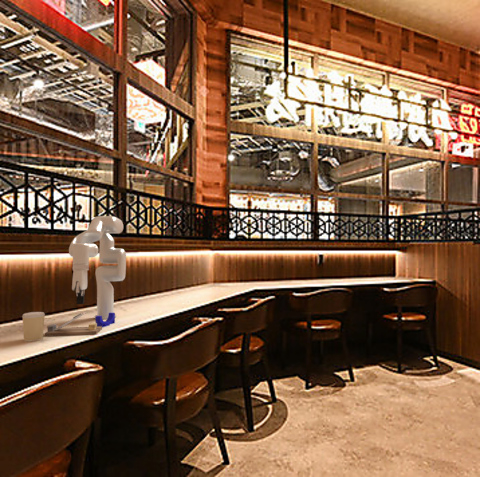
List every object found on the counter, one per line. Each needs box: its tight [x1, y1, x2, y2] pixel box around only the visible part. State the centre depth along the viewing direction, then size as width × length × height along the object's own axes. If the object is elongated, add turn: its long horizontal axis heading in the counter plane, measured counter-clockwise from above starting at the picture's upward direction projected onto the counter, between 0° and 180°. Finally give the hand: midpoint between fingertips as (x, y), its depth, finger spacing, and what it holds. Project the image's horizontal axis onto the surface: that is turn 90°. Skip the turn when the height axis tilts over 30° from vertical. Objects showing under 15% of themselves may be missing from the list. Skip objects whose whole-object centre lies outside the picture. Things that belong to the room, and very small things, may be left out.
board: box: [44, 322, 103, 337], centre depth 186 cm, size 12×24×4 cm, turn 97°
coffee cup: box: [21, 311, 46, 342], centre depth 173 cm, size 9×9×12 cm
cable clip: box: [95, 312, 116, 329], centre depth 204 cm, size 12×4×6 cm, turn 160°
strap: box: [55, 311, 86, 331], centre depth 186 cm, size 16×5×1 cm, turn 98°
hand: (80, 303), depth 186 cm, fingers closed
